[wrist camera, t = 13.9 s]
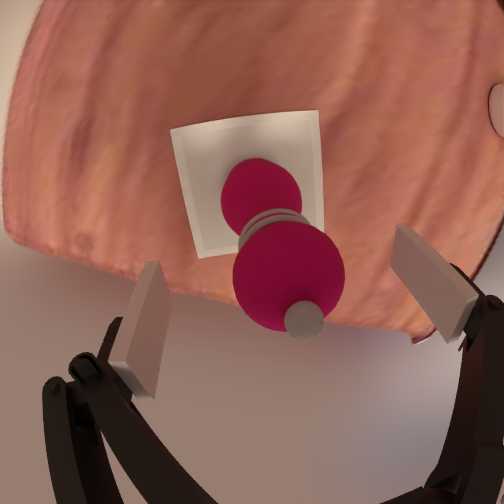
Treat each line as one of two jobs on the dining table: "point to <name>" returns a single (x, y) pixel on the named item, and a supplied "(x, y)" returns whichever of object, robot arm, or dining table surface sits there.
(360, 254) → the dining table surface
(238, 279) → the pepper mill
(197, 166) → the plate
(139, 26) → the dining table surface
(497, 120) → the mug
